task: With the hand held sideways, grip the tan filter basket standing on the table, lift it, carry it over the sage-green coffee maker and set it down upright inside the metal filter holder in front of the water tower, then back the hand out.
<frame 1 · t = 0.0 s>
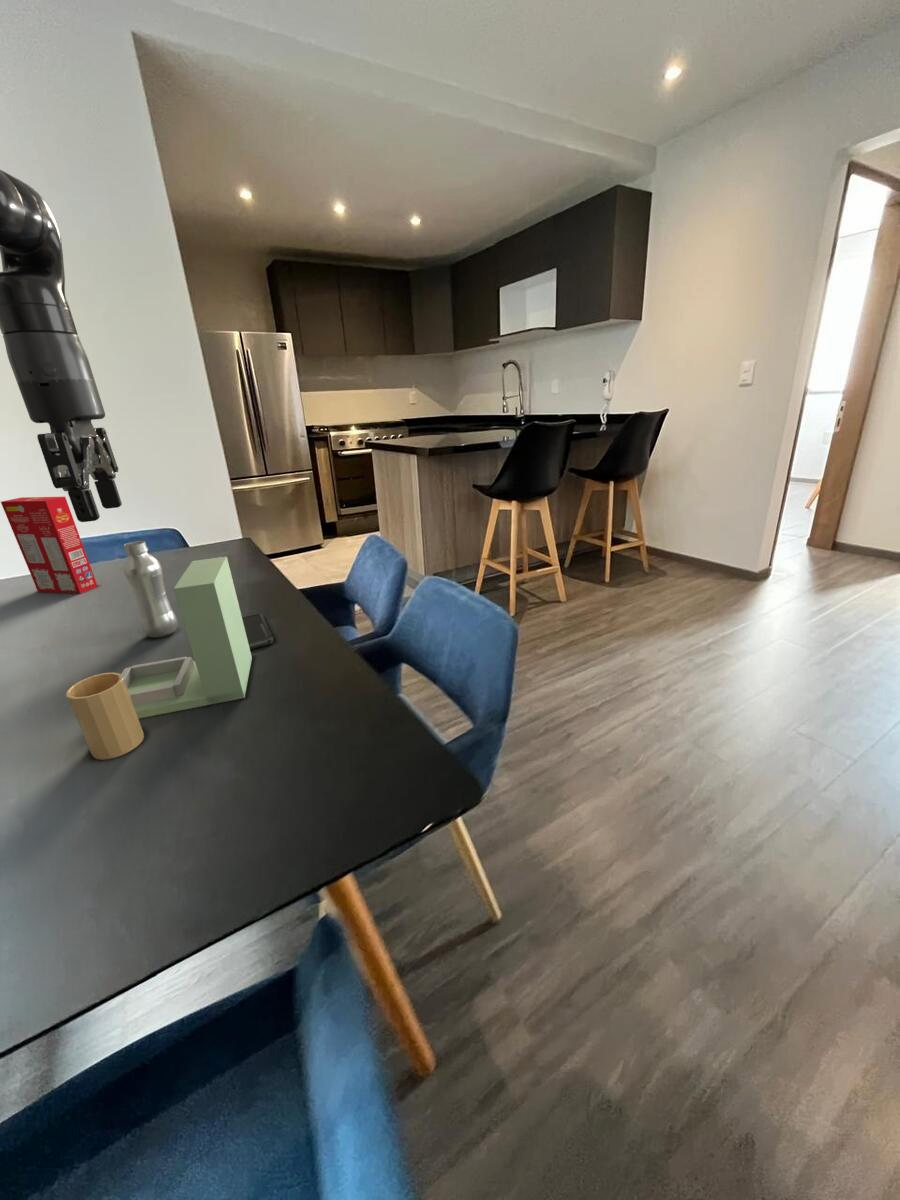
hand: (102, 513, 64), 32 cm above the table, tool pointing down, fingers open, 8 cm apart
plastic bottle: (163, 635, 104), on the table
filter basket: (118, 744, 70), on the table
phone: (249, 635, 101), on the table
coffee maker: (157, 693, 82), on the table
food packaging: (68, 590, 136), on the table
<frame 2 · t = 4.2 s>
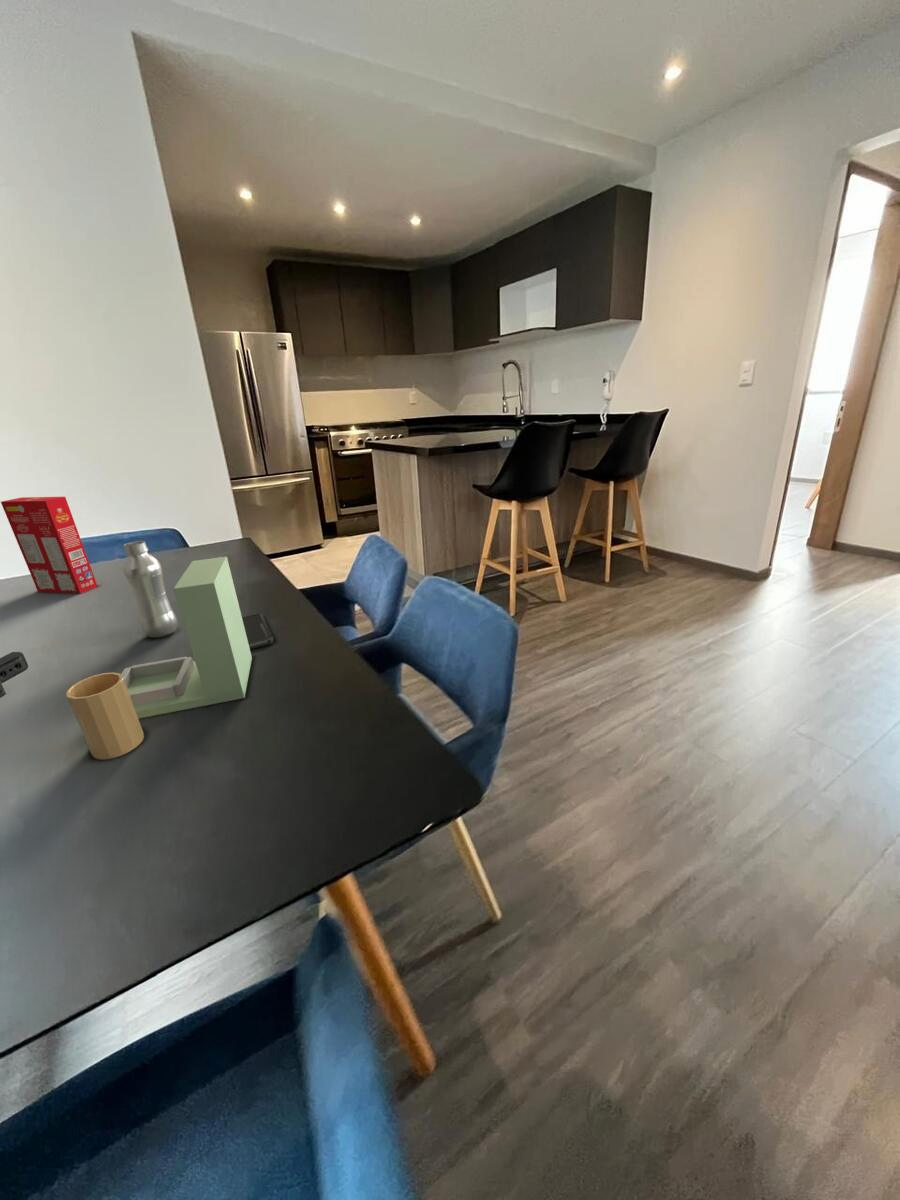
nothing on the table moved.
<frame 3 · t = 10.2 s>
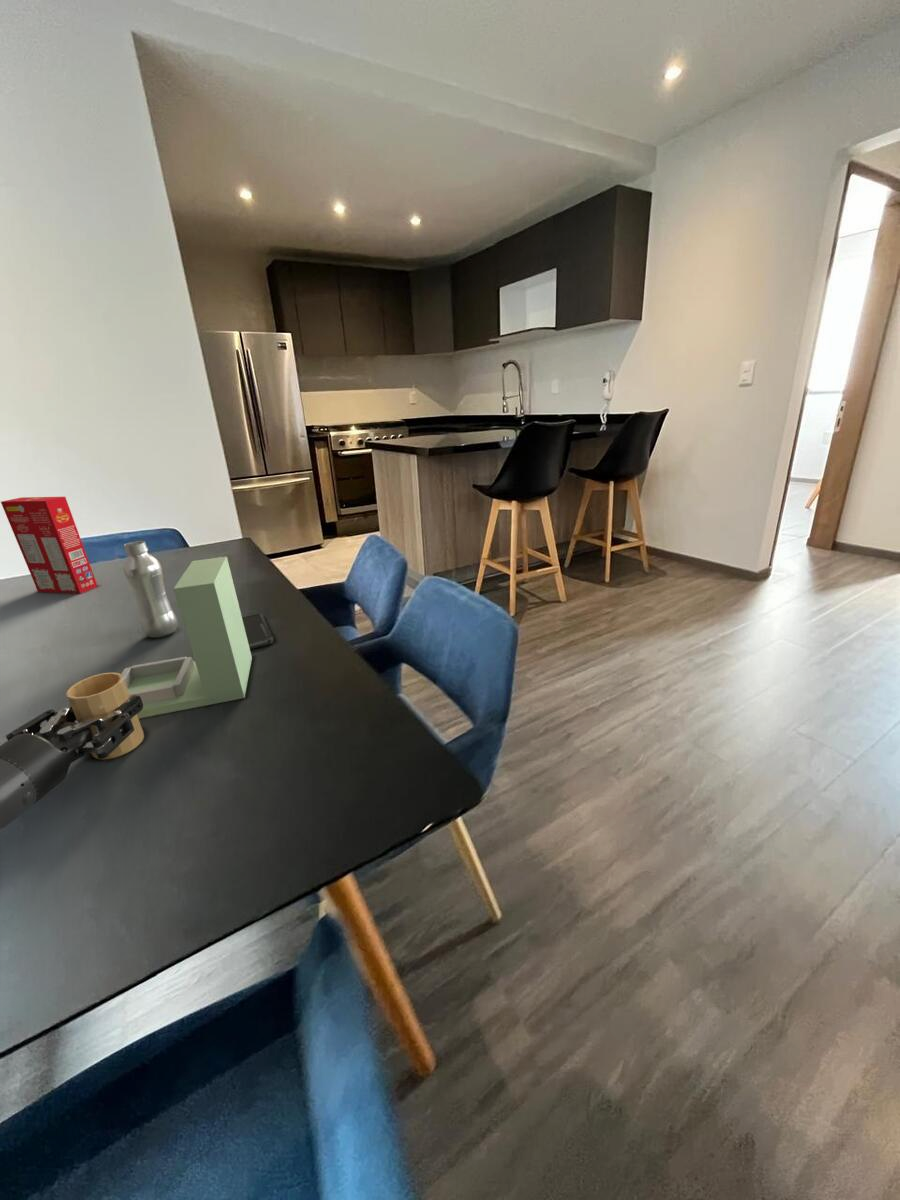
hand: (117, 699, 70), 6 cm above the table, tool horizontal, fingers closed on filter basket, 6 cm apart
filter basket: (118, 744, 70), on the table, touching gripper
everything else where it was.
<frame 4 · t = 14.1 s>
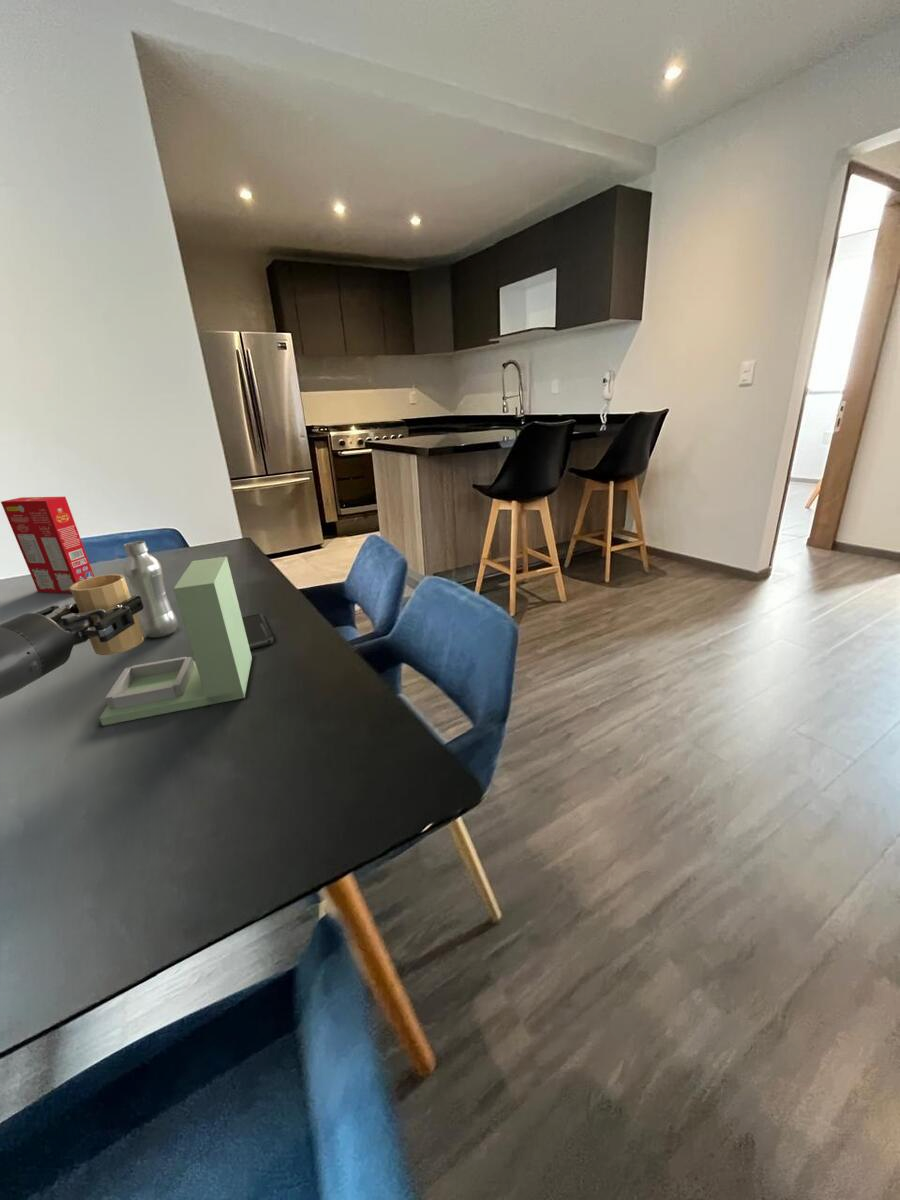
hand: (118, 601, 73), 18 cm above the table, tool horizontal, fingers closed on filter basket, 6 cm apart
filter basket: (119, 644, 73), point 12 cm above the table, touching gripper
everything else where it was.
when the fingers open (8 cm above the table, at t = 18.2 s): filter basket stays where it is, resting on coffee maker.
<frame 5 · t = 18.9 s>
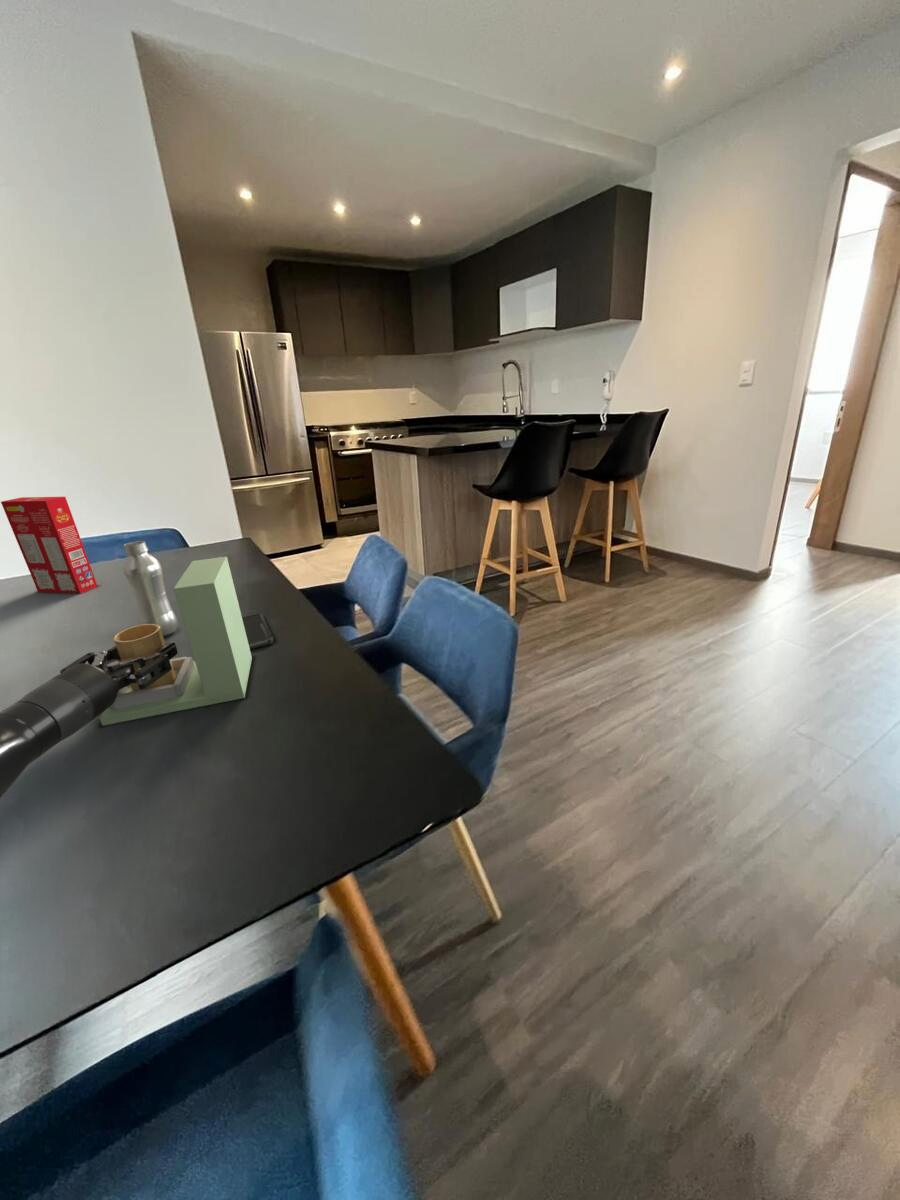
hand: (151, 646, 81), 8 cm above the table, tool horizontal, fingers open, 8 cm apart
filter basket: (155, 686, 82), point 1 cm above the table, touching coffee maker
everything else where it was.
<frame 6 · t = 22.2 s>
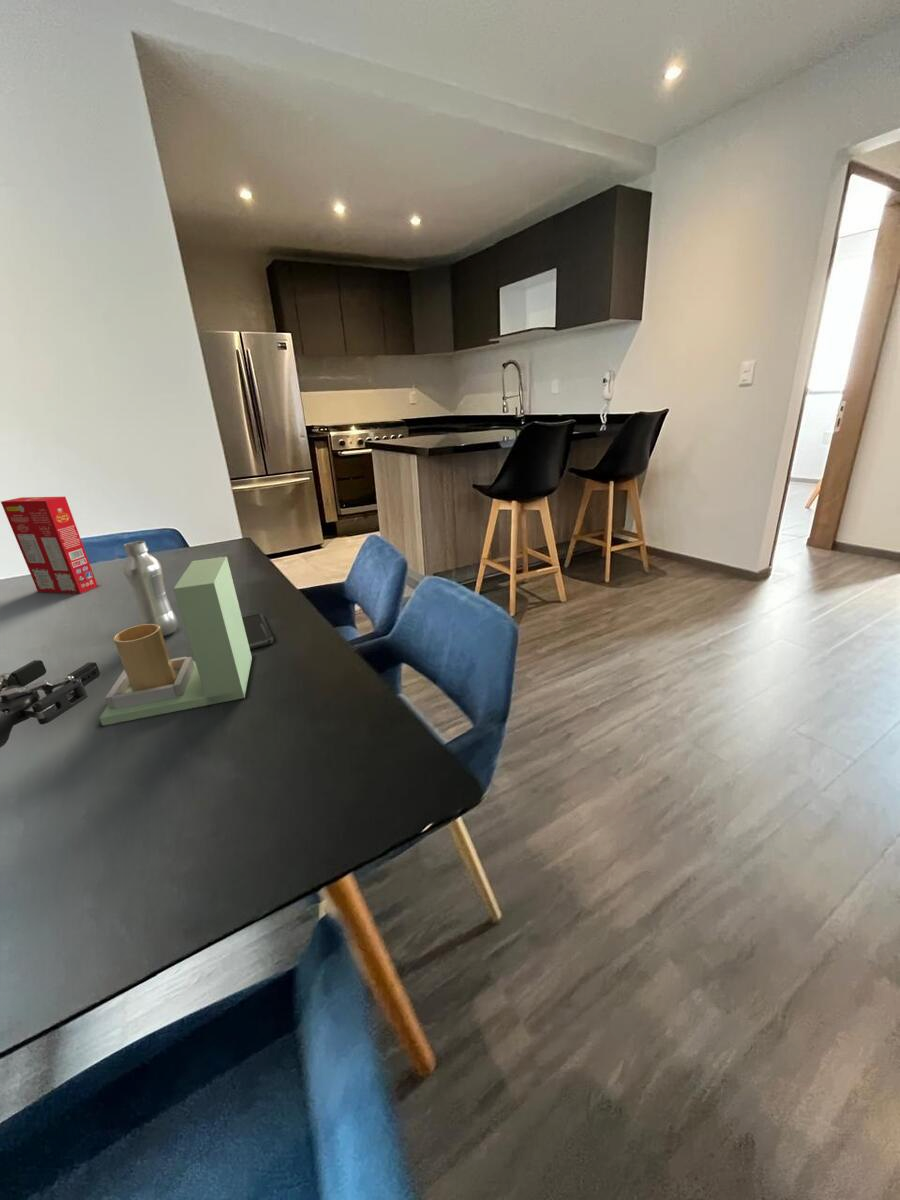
hand: (68, 666, 67), 12 cm above the table, tool horizontal, fingers open, 8 cm apart
nothing on the table moved.
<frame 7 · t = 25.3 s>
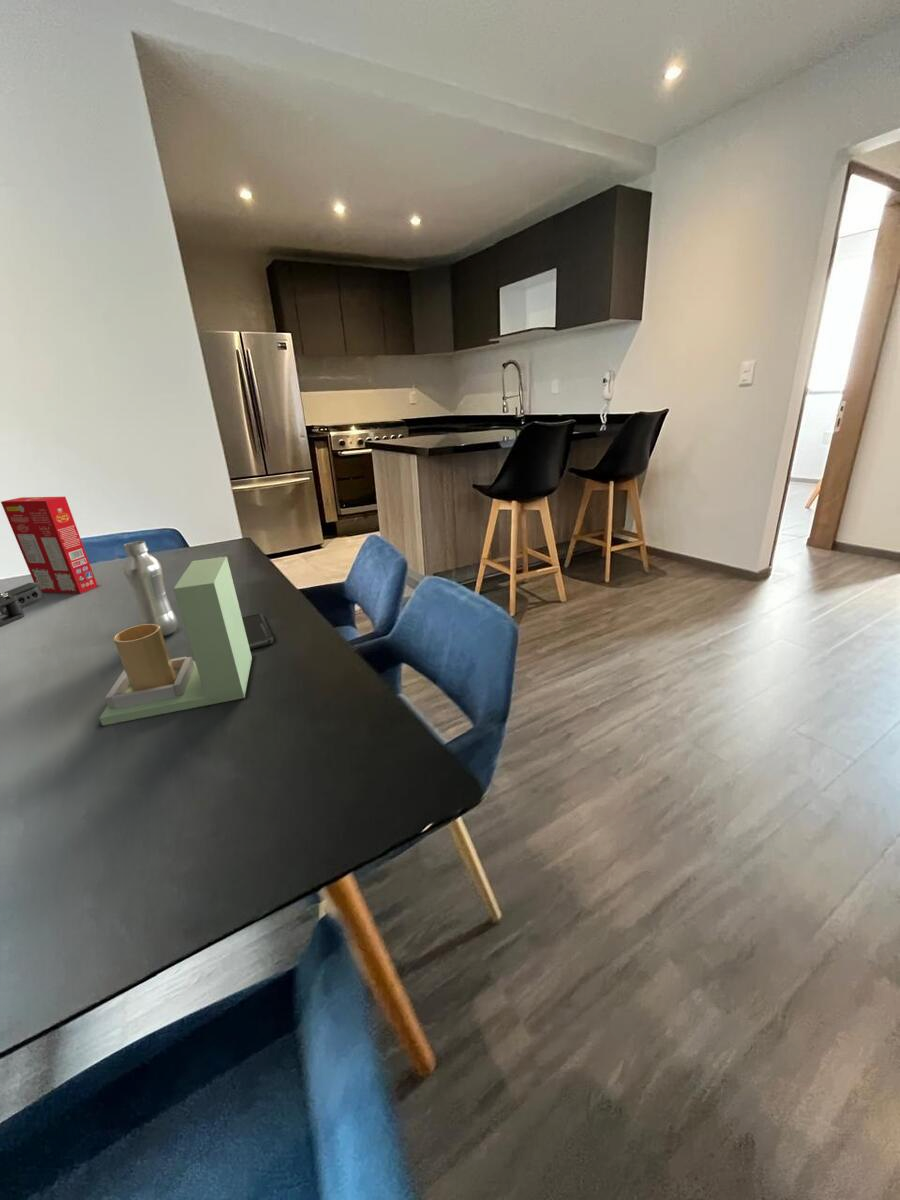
hand: (8, 590, 58), 25 cm above the table, tool horizontal, fingers open, 8 cm apart
nothing on the table moved.
at the end: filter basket 0.1 cm off-centre on the coffee maker, point 1.5 cm above the coffee maker's base; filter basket tilted 0°; the gripper is holding nothing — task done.
